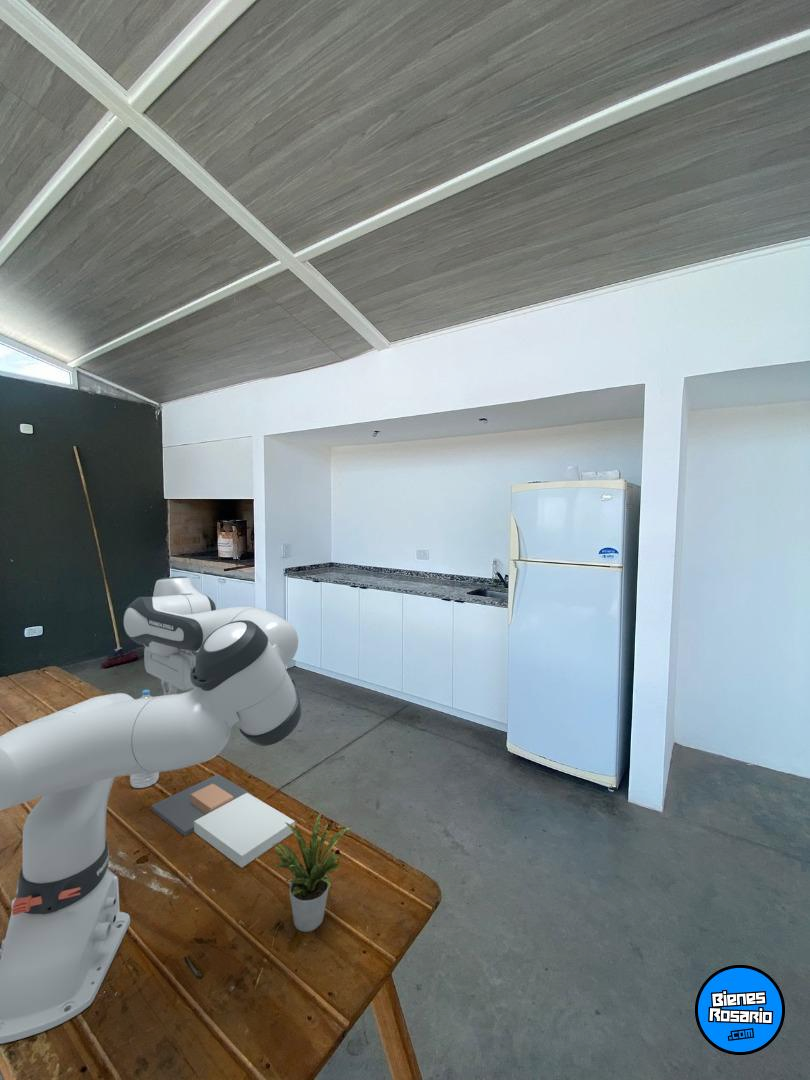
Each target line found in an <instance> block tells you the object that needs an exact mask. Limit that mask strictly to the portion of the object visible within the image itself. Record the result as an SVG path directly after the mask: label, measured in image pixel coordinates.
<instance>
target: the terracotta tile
mask: <svg viewBox="0 0 810 1080" xmlns="http://www.w3.org/2000/svg"><path fill="white" fill-rule="evenodd" d="M232 800H233V796H232V795H230V794H229V793H227V792H226V791H224V790H223V789H221V788H219V787H218V786H216V785H215V784H211V785H209V786H207V787H205V788H202V789H200V790H198V791H196V792H194V793H192V794H191V795H190V803H191V804H193V805H194V806H195V807H197V808H198V809H200V810H201V811H202V812H204V813H205V814H208V813H210V812H212V811H214V810H216V809H217V808H219V807H221V806H223V805H225V804H227V803H229V802H231V801H232Z"/></svg>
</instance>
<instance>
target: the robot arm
mask: <svg viewBox="0 0 810 1080" xmlns="http://www.w3.org/2000/svg"><path fill="white" fill-rule="evenodd" d="M153 589H154V590H153V595H152V596H138V597H137V598H136V599H135V600H133V601H132V602H131V603H130V604H129V605H128V606H127V607H126V609H125V611H124V613H123V617H122V622H123V629H124V632H125V634H126V636H127V637H128V638H129V639H131V641H133V642H135V643H136V644H138V645H143V646H144V650H143V654H144V655H143V656H144V657H143V660H144V668H145V671H146V673H148V674H149V675H152V676H154V677H156V678H158V679H160V680H161V681H160V682H161V687H162V690H163V695H158V696H157V695H156V696H152V697H149V698H141V697H140V698H141V699H139V698H136V699H135V698H133V697H132V696H131V695H129V694H127V693H123V692H116V693H111V694H105V695H98V696H94V697H92V698H89V699H86V700H83V701H81V702H78V703H76V704H72V705H71V706H68V707H65V708H63V709H61V710H58V711H55V712H53V713H51V714H48V715H45V716H43V717H40V718H37V719H35V720H32V721H29V722H27V723H25V724H22V725H20V726H17V727H14V728H13V729H10V730H9V731H7V732H5V733H4V734H2V735H0V811H2V810H5V809H9V808H12V807H15V806H18V805H21V804H23V803H26V802H27V803H28V802H30V801H32V800H36V799H38V798H40V799H39V800H38V802H37V803H36V804H35V805H34V807H33V808H32V810H31V811H30V812H29V814H28V816H27V817H26V819H25V821H24V824H23V827H22V867H21V869H20V871H19V875H18V880H17V882H16V883H17V884H16V896H15V897H14V899H13V900H11V912H10V917H9V921H8V924H7V925H8V926H7V930H6V932H5V938H4V939H2V940H1V942H0V1044H7V1043H10V1042H14V1041H17V1040H21V1039H25V1038H27V1037H32V1036H34V1035H38V1034H40V1033H44V1032H46V1031H48V1030H50V1029H53V1028H56V1027H58V1026H60V1025H61V1024H63V1023H66V1022H67V1021H69V1020H71V1019H72V1018H74V1017H76V1016H78V1015H79V1014H80V1013H82V1012H83V1011H84V1010H86V1009H87V1008H88V1007H90V1006H91V1005H92V1003H93V1002H94V1000H95V999H96V996H97V994H98V992H99V990H100V987H101V986H102V983H103V981H104V979H105V978H106V975H107V973H108V971H109V968H110V966H111V964H112V962H113V961H114V958H115V956H116V954H117V951H118V949H119V947H120V946H121V943H122V941H123V939H124V937H125V934H126V933H127V931H128V928H129V926H130V924H131V916H130V915H129V913H127V912H124V911H120V895H119V893H120V891H119V889H120V888H119V877H118V876H117V875H116V874H114V873H113V872H112V871H111V870H110V869H109V857H110V850H109V844H108V841H107V839H106V834H107V833H106V830H107V829H106V827H107V826H106V825H107V812H108V811H107V809H108V801H109V796H110V794H111V791H112V787H113V783H114V781H115V778H117V777H123V776H130V775H135V774H146V773H157V772H159V773H165V772H171V771H176V770H181V769H185V768H189V767H192V766H193V767H194V766H196V765H198V764H201V763H205V762H208V761H210V760H212V759H214V758H215V757H217V756H218V755H219V754H220V753H221V752H222V751H223V750H224V749H225V747H226V745H227V743H228V741H229V739H230V736H231V732H232V728H233V726H234V725H236V726H237V727H238V729H239V731H240V733H241V734H242V735H243V736H244V738H246V739H247V740H248V741H250V743H252V744H254V745H256V746H259V747H267V746H272V745H274V744H278V743H279V742H281V741H283V740H285V738H286V737H288V736H290V734H291V733H292V732H293V731H294V730H295V729H296V727H297V726H298V724H299V722H300V720H301V717H302V705H301V700H300V696H299V692H298V689H297V686H296V683H295V681H294V679H292V678H291V677H290V675H289V673H288V671H287V665H288V664H290V663H291V661H292V660H293V658H295V656H296V653H297V650H298V647H299V636H298V633H297V631H296V629H295V627H294V626H293V625H292V623H290V622H289V621H287V620H286V619H284V618H283V617H281V616H280V615H277V614H276V613H273V612H270V611H268V610H265V609H261V608H259V607H255V606H248V605H247V606H241V605H240V606H232V607H226V608H225V607H224V608H220V609H217V607H216V603H215V602H214V600H213V599H211V597H210V596H208V595H207V594H205V593H204V594H203V593H201V592H199V591H198V590H197V589H196V588H195V587H194V585H193V580H192V579H191V578H190V577H188V576H169V577H167V576H166V577H161V578H159V579H157V580H156V582H155V585H154V588H153ZM193 652H196V653H197V654H196V656H195V655H194V654H193ZM178 690H181V691H186V692H183V693H178ZM187 690H188V691H187Z"/></svg>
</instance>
